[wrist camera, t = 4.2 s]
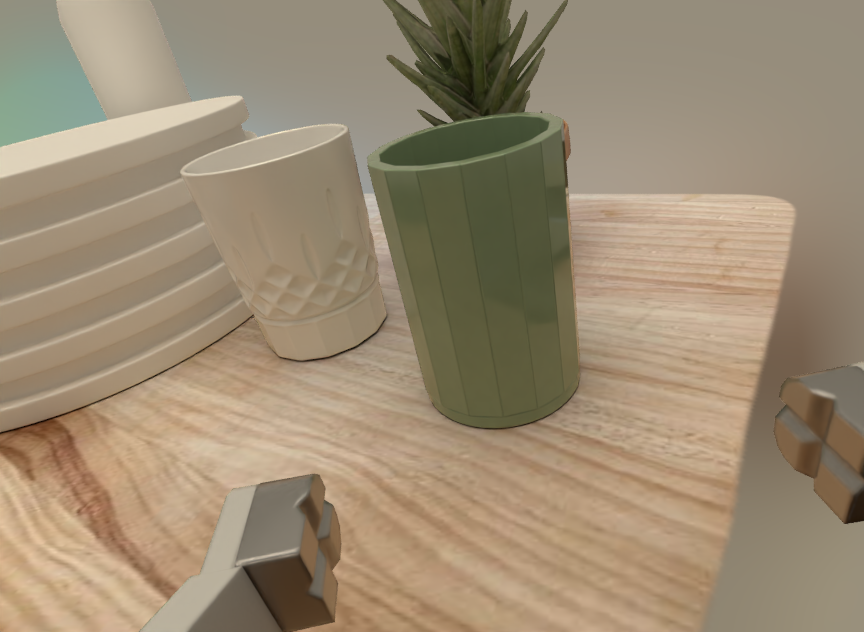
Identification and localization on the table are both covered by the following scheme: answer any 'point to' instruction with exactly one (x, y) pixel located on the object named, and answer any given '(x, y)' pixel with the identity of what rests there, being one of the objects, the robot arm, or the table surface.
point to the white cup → (294, 237)
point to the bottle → (123, 54)
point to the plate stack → (109, 257)
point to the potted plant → (470, 57)
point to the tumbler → (485, 263)
